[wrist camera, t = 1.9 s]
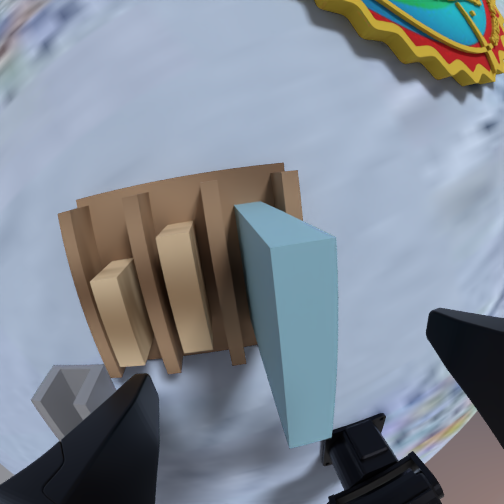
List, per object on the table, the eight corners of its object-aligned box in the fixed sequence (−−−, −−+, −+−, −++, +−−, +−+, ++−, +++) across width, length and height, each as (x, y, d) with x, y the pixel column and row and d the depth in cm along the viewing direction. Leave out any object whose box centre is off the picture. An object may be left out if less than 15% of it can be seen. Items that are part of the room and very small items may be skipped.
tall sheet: (274, 314, 18) (331, 437, 8) (250, 318, 17) (289, 448, 8) (260, 201, 16) (336, 237, 6) (233, 205, 16) (270, 248, 6)
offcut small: (155, 332, 17) (145, 365, 13) (133, 335, 17) (120, 366, 13) (134, 257, 16) (116, 277, 12) (111, 261, 15) (89, 281, 12)
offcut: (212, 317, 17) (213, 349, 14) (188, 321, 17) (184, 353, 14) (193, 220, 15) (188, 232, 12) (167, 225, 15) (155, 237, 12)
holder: (148, 446, 20) (143, 483, 16) (102, 444, 20) (93, 478, 15) (103, 364, 17) (85, 404, 13) (53, 365, 17) (30, 400, 13)
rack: (297, 332, 19) (311, 356, 16) (124, 357, 18) (113, 384, 15) (281, 163, 16) (296, 159, 13) (79, 199, 15) (55, 204, 12)
